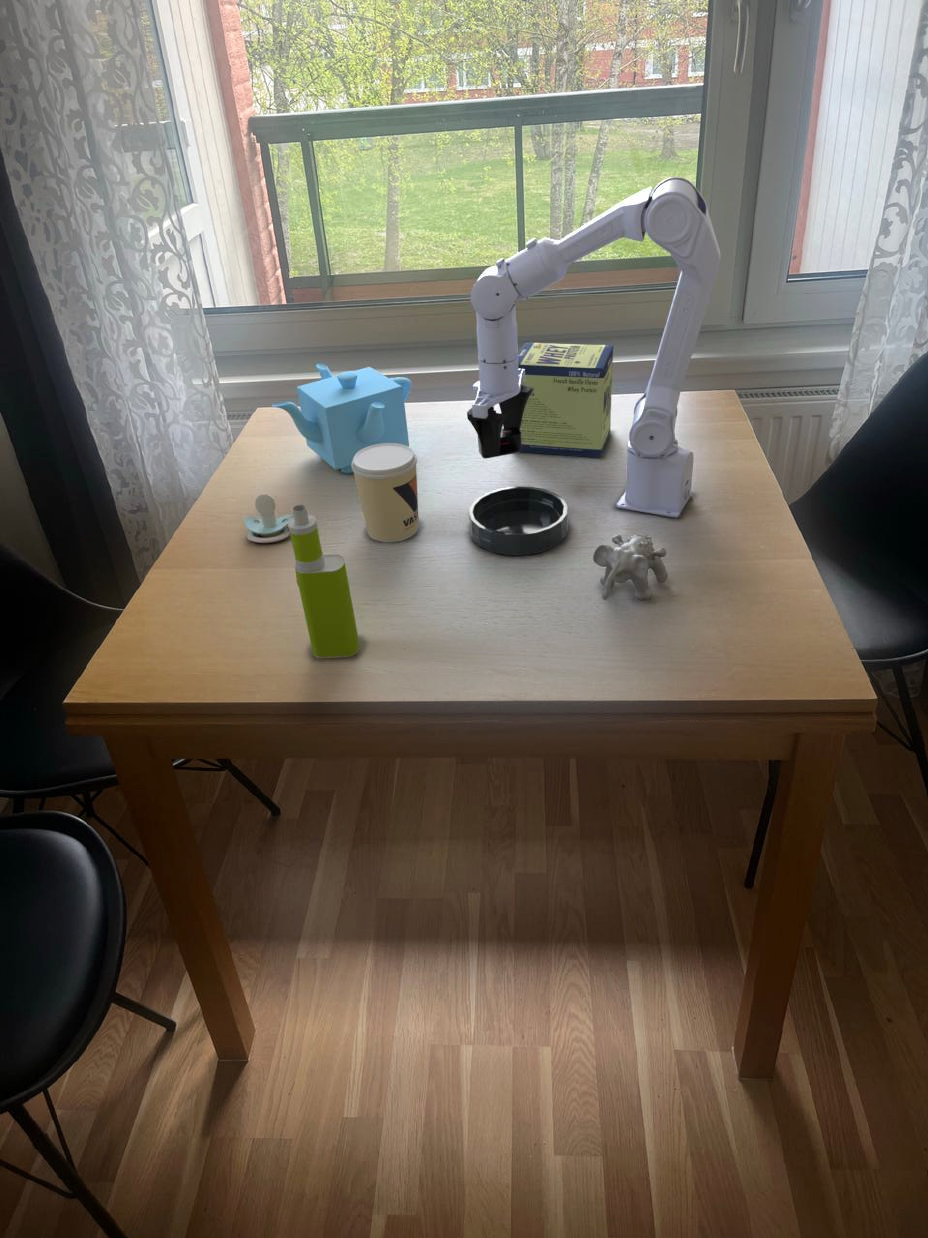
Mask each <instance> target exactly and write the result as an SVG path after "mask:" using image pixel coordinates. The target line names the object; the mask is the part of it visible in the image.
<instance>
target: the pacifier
mask: <svg viewBox="0 0 928 1238" xmlns="http://www.w3.org/2000/svg"><path fill="white" fill-rule="evenodd" d="M254 506H255V509H256V512H258V514H260V516H257V515H256V516H255V515H251V516H246V517H245V518H244V520H243V524H244V526H245V527H246V529H247V530H248V531H250V532H249V533H248V534H247V535H246V537H247V540H248V541H250V542H252V543H256V544H257V543H258V544H270V543H271V544H272V543H276V542H280V541H283V540H285V539H286V538H288V537H290V531H289V529H287V527H288V522H289V520H291V519H292V518H294V516H293V513H289V514H285V515H282V516H280V517H278V518H276V513H275V511H276V507H277V506H276V500H275V499H274V498H273V496H272V495H270V494H268V493H262V494H259V495H258V496H257V497H256V499H255V501H254ZM256 535H259V536H261V537H258V536H256Z"/></svg>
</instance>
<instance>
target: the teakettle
mask: <svg viewBox="0 0 928 1238" xmlns="http://www.w3.org/2000/svg"><path fill="white" fill-rule="evenodd" d="M315 367H316V369H317V371H318V373H319V375H320V378H321V379H320V380H316V381H313V382H309V383H306V384H305V383H304V384H301V385H298V386H296V392H297V397H298V403H299V406H298V405H297V404H295V403H294V402H292V401H287V400H286V401H279V402H276V403H273V404H272V405H271V406H272V407H273V408H277V409H282V410H284V411H285V412H286V413H287V414H288V415H289V416H290V418H291V419H292V421H293V423H294V425H295V427H296V429H297V430H298V432H299V433H300V434H301V436H302V437H303V438H305V440H306V446H307V447H308V448H309V449H311V450H312V451H313V452H314V453H315V454H316V455H317V456H319V458H322V460H323V461H325V463H327V464H328V465H329V466H330V467H331V468H333V470H335V471H336V470H339V469H340V471H341V473H345V474H351V473H354V472H353V470H352V461H353V458H354V456H355V454H356V453H357V452H359V451H360V450H362V449H364V448H366V447H369V446H372V445H376V444H383V443H396V444H402V445H405V446H408V447H409V448H410V441H409V432H408V425H407V423H408V422H407V415H406V413H407V412H406V404H405V402H406V401H407V399H408V397H409V396H410V393H411V390H412V386H413V385H412V384H413V383H412V381H411V379H409V378H408V377H404V376H403V377H401V376H397V377H390V378H389V377H387V376H386V375H384V374H383V373H381V372H380V371H378V370H376V369H375V368H372V367H371V366H367V367H364V368H360V369H357V370H352V371H342V372H340V373H338V374H337V375H333V374H332V372H331V370H330V368H329V367H328V366H327V365H326V364H323V363H317V364H316V366H315Z"/></svg>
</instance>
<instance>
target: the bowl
mask: <svg viewBox="0 0 928 1238" xmlns="http://www.w3.org/2000/svg"><path fill="white" fill-rule="evenodd" d="M468 522H469V532H470V536H471V538H472V539H471V540H472V541H474V543H476V544H477V545H478V546H479V547H481V548H482V549H484V550H486V551H489V552H491V553H495V554H500V555H505V556H525V555H532V554H538V553H542V552H544V551H548V550H550V549H552V548H554V547H555V546H557V545H558V544H561V542H562V541H563V540H564V539H565V537H566V536H567V535H568V529H569V506H568V504H567V502H566V500H565V499H564V498H563V497H562V496H560V495H559V494H557V493H556V492H553V491H551V490H548V489H546V488H543V487H542V488H541V487H535V486H525V485H524V486H523V485H521V486H515V485H514V486H507V487H501V488H498V489H494V490H492V491H488V492H486V493H485V494H482V495H480V496H479V497H477V498H476V499H475V500H474V501H473V503H471V504H470V507H469V511H468Z"/></svg>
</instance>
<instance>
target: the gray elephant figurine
mask: <svg viewBox="0 0 928 1238" xmlns="http://www.w3.org/2000/svg"><path fill="white" fill-rule="evenodd" d="M611 541H612V543H614V545H616V546H613V547H612V546H611V545H609V544H601V545H599V546H598V547H597V548H596V549H595V550H594V552H593V555H592V560H593V562H594V563H595V564H596V565H597V566H598V567H602V568H603V567H604V568H605V570H604V574H603V575H602V576H600V579H599V582H600V584H601V585H602V586H603V589H602V593H601V597H602V600H604V601H606V600H608V599H609V596H610V592H611V590H612V589H613V588H614V586H615V584H625V583H627V582H628V581H631V582H632V584H633V586H634V588H635V598H636V599H637V600H641V601H645V600H651V598H652V597H653V591H652V590H651V588H650V584H649V577H648V575H649V570H650V569H651V571H652V572H653V573H654V576H655V579H656V581H657V583H659V584H665V583H666V582H667V580H668V578H669V573H668V570H667V568H666V566H665V564H664V561H663V560H662V558H665V557H666V556H667V549H666V548H665V547H664V546H661V547H659V548H658V549H657V550H656V549H655V548H654V547H653V546H654V542H653V538H652V536H650V535H648V534H646V535H643V534H642V533H639V532H637V533H636V534H635V535H632V536H629V537H628V538H626V539H625V540H623V537H622V535H621V534H618V533H617V534H614V536H612V538H611ZM617 545H618V546H617Z"/></svg>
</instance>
